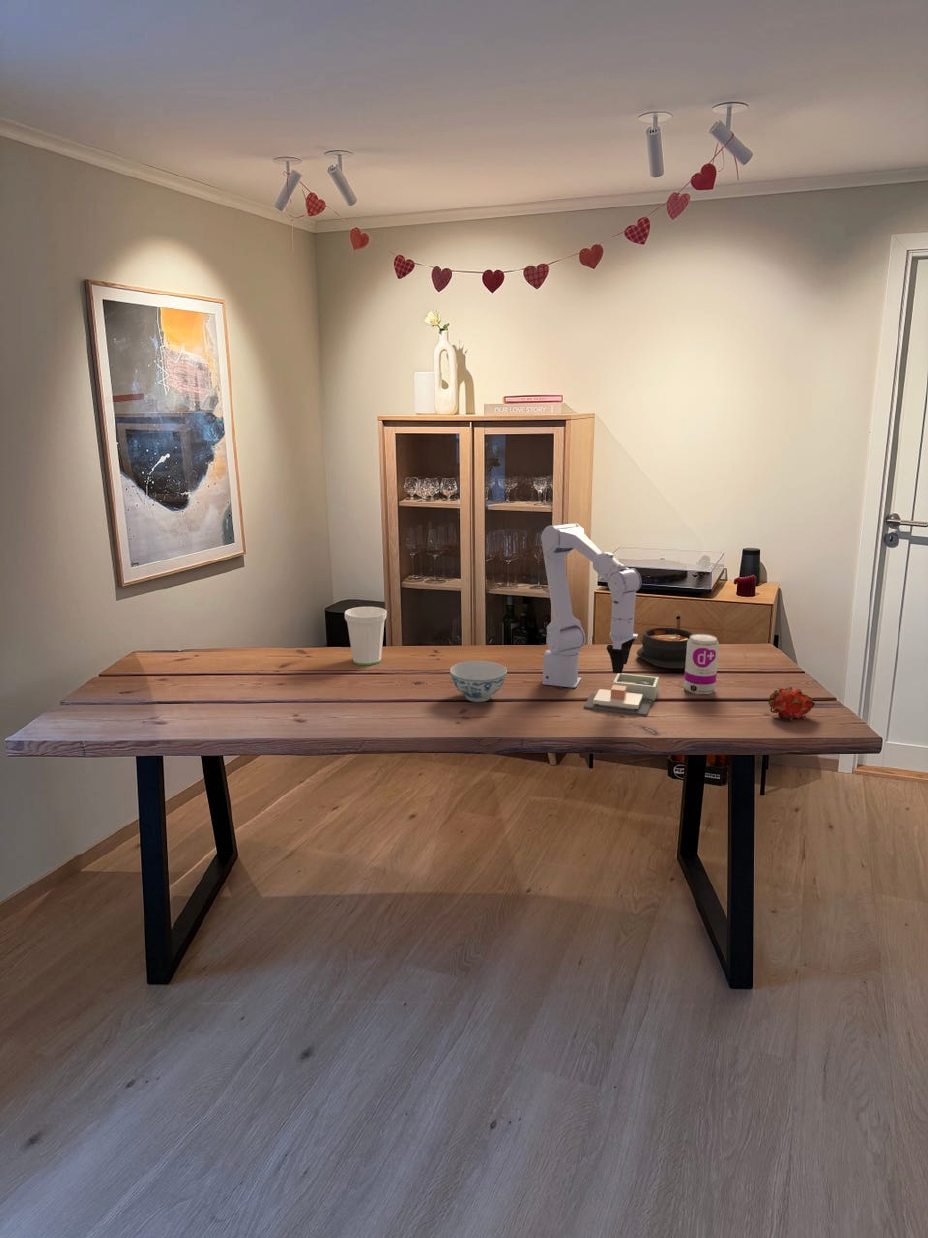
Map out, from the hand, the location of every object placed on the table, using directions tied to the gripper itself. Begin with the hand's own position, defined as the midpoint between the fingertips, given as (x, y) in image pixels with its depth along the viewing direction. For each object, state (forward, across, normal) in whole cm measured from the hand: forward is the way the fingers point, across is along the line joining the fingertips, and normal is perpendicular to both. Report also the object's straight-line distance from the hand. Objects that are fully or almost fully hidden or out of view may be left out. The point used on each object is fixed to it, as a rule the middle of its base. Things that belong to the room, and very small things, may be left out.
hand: (619, 668), depth 220 cm
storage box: (+10, +10, -3) cm, 15 cm away
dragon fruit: (+10, +6, -42) cm, 44 cm away
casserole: (+10, +42, -8) cm, 44 cm away
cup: (+10, +12, +77) cm, 79 cm away
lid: (+10, 0, 0) cm, 10 cm away
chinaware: (+10, -6, +36) cm, 38 cm away
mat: (+10, 0, 0) cm, 10 cm away
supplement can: (+10, +18, -19) cm, 28 cm away
